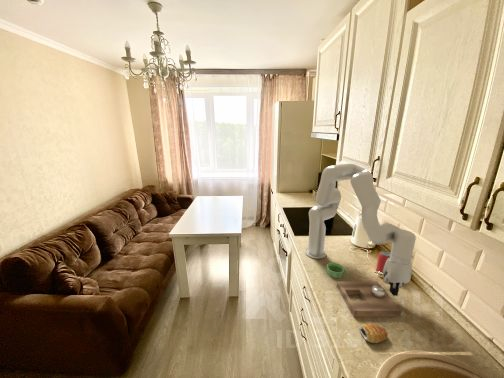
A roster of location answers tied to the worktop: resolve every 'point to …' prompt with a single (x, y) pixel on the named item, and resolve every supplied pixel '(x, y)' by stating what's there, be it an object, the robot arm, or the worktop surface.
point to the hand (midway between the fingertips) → (393, 293)
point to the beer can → (382, 260)
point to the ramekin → (336, 267)
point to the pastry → (373, 333)
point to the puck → (378, 292)
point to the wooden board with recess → (367, 300)
